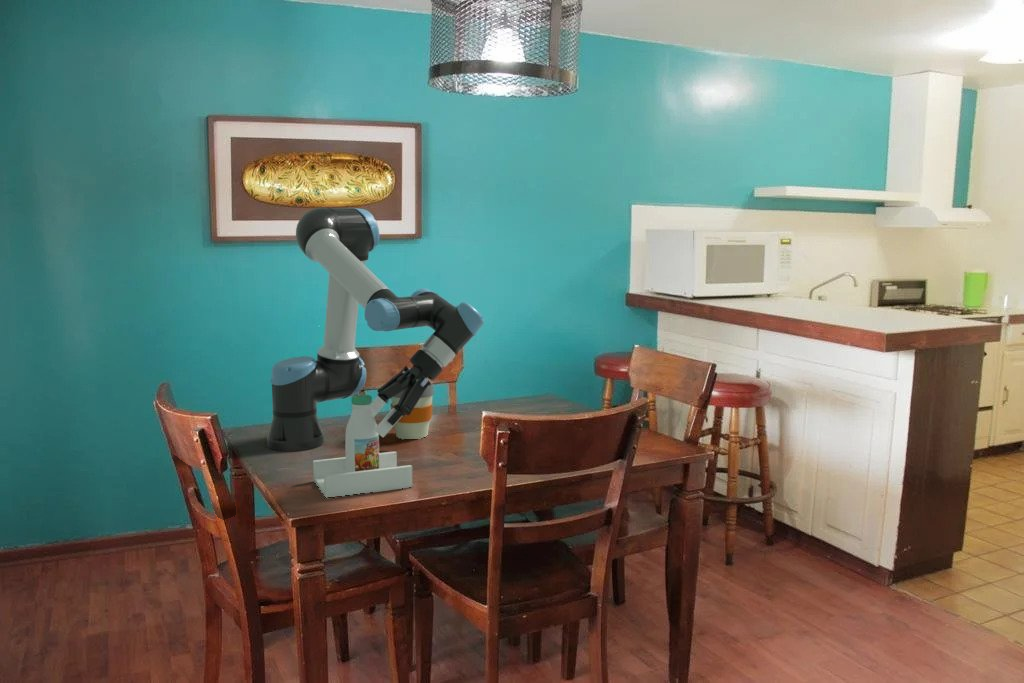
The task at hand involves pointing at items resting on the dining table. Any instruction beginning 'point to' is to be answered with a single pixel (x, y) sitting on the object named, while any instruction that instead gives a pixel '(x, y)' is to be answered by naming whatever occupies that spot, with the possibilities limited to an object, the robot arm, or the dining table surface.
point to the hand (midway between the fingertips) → (370, 426)
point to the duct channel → (361, 476)
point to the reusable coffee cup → (415, 416)
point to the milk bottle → (361, 437)
